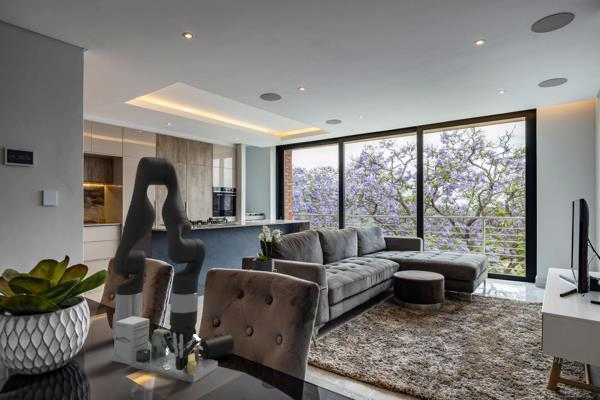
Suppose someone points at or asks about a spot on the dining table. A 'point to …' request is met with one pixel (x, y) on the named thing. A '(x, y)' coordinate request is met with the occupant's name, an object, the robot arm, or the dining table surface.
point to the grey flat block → (169, 361)
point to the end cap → (216, 346)
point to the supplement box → (130, 338)
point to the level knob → (192, 360)
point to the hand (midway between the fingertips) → (180, 369)
